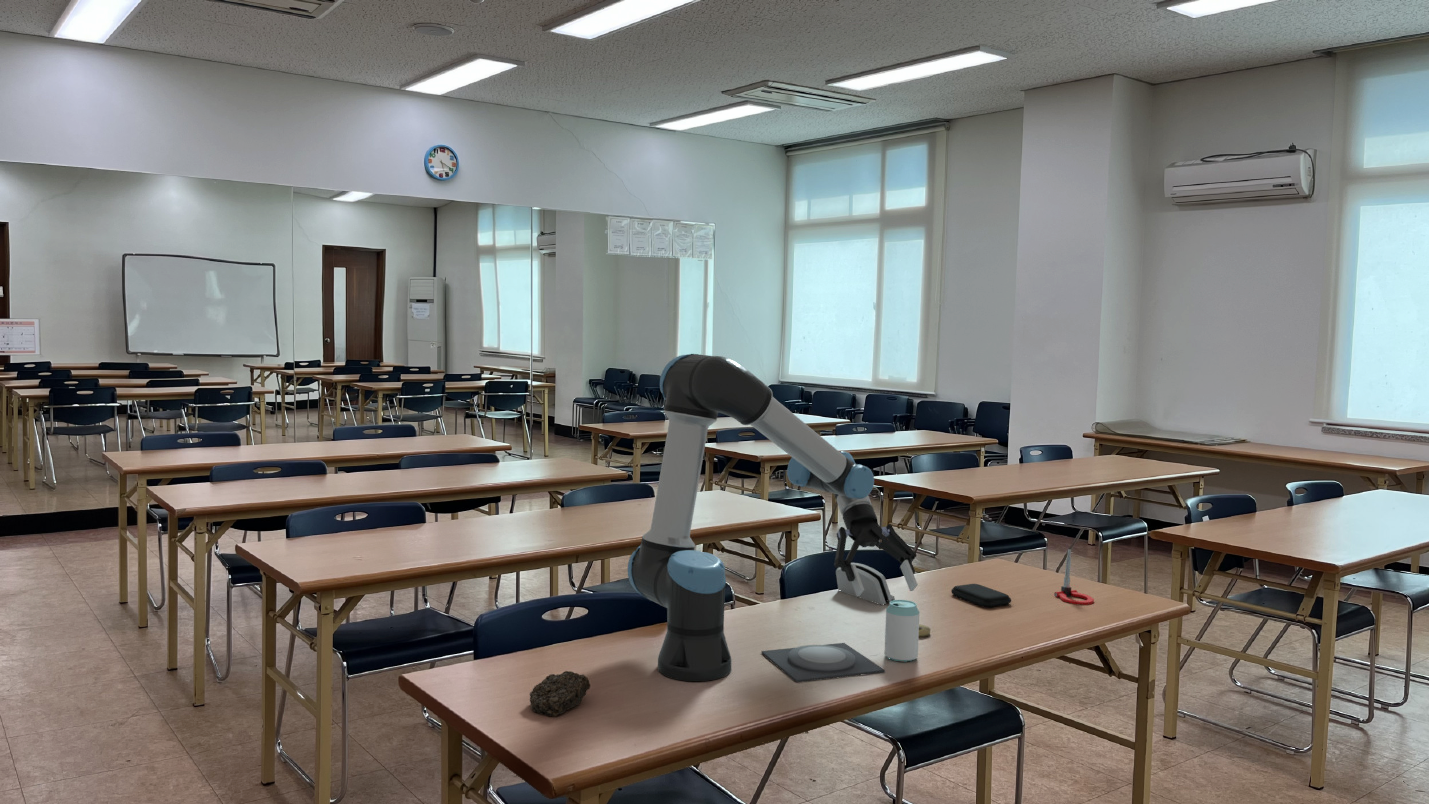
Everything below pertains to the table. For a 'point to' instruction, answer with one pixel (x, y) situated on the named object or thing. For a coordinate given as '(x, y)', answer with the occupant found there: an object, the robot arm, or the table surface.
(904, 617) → the can
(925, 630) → the small brass flange
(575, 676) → the concrete sample
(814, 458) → the robot arm
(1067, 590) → the tow hook
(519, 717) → the table surface
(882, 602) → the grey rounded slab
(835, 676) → the flange station
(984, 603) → the carrying case or bag
